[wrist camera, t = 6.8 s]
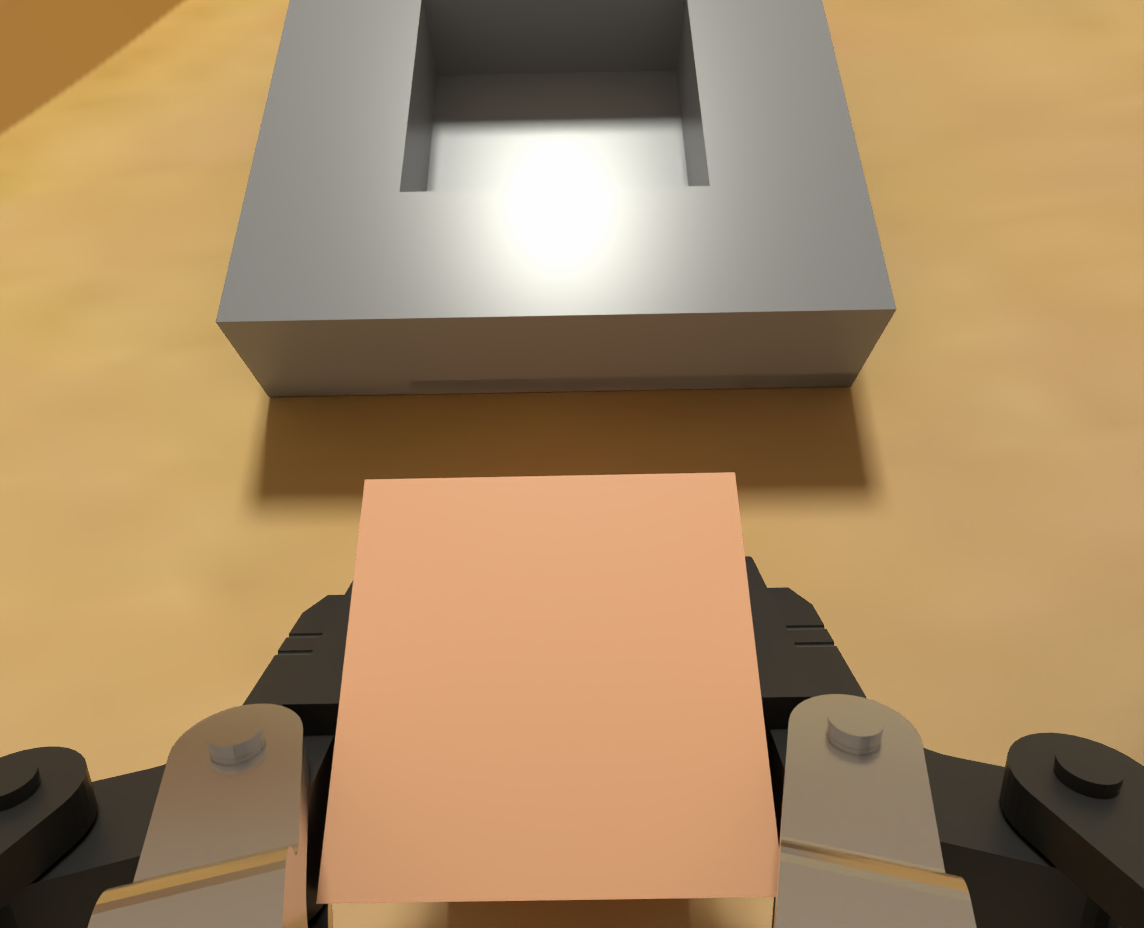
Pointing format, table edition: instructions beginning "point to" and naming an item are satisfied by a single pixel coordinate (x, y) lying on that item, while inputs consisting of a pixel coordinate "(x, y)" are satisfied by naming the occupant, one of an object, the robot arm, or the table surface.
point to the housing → (554, 202)
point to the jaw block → (550, 696)
